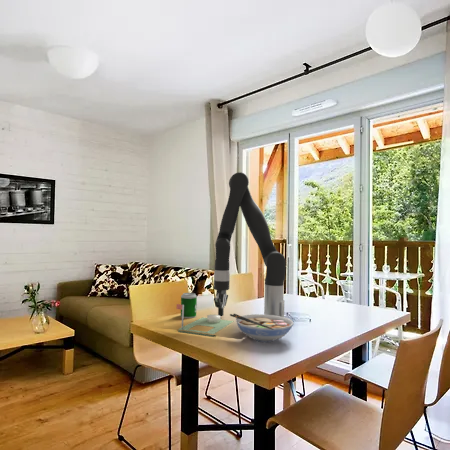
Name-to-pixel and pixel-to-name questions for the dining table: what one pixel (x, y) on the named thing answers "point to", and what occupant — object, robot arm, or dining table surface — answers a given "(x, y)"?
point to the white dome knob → (213, 318)
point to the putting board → (202, 322)
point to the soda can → (189, 305)
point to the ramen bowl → (263, 326)
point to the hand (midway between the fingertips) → (220, 315)
